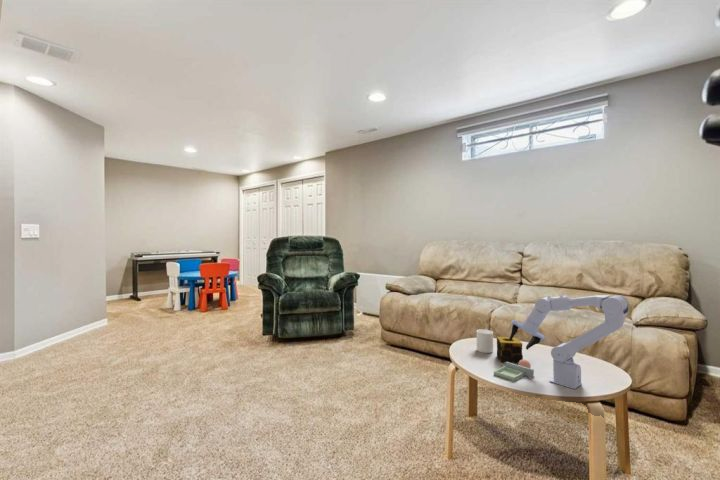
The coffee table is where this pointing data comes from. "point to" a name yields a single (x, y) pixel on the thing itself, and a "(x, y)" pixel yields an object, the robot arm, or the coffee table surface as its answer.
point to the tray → (509, 373)
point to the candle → (509, 350)
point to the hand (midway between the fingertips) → (518, 343)
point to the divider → (521, 369)
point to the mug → (485, 341)
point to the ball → (524, 363)
